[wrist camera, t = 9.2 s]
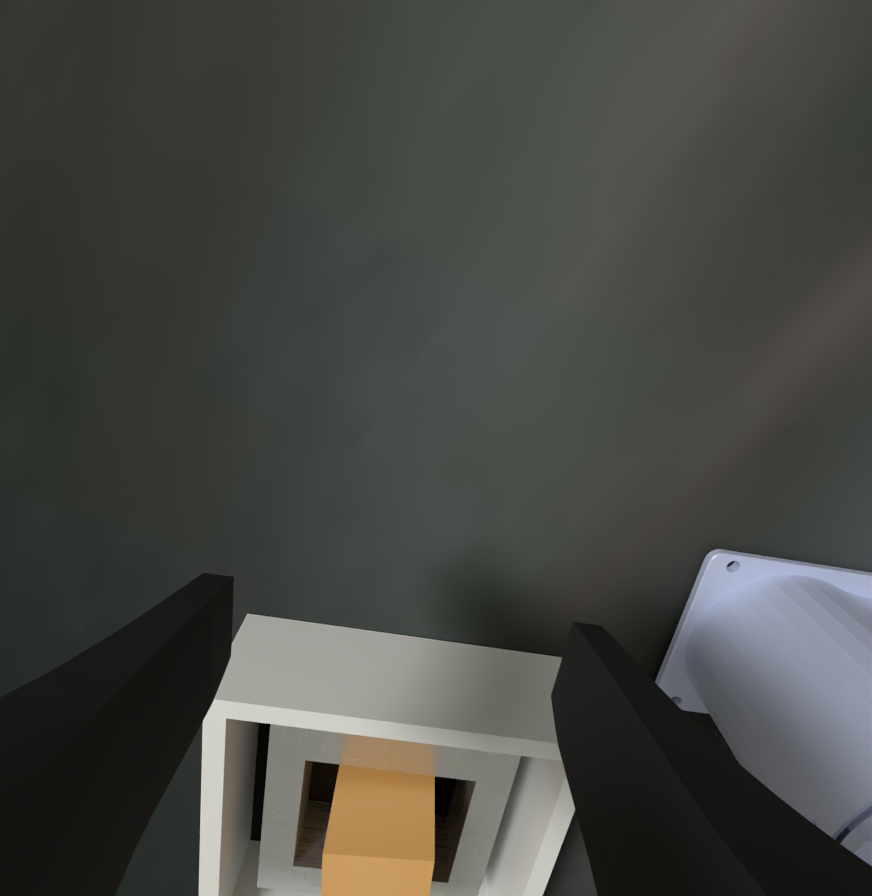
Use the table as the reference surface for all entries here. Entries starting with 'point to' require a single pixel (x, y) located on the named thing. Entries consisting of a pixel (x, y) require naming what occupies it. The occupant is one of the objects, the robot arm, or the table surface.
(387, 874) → the light brown rectangular block
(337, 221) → the table surface
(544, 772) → the walled box
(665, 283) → the table surface
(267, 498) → the table surface
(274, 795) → the inlet socket
